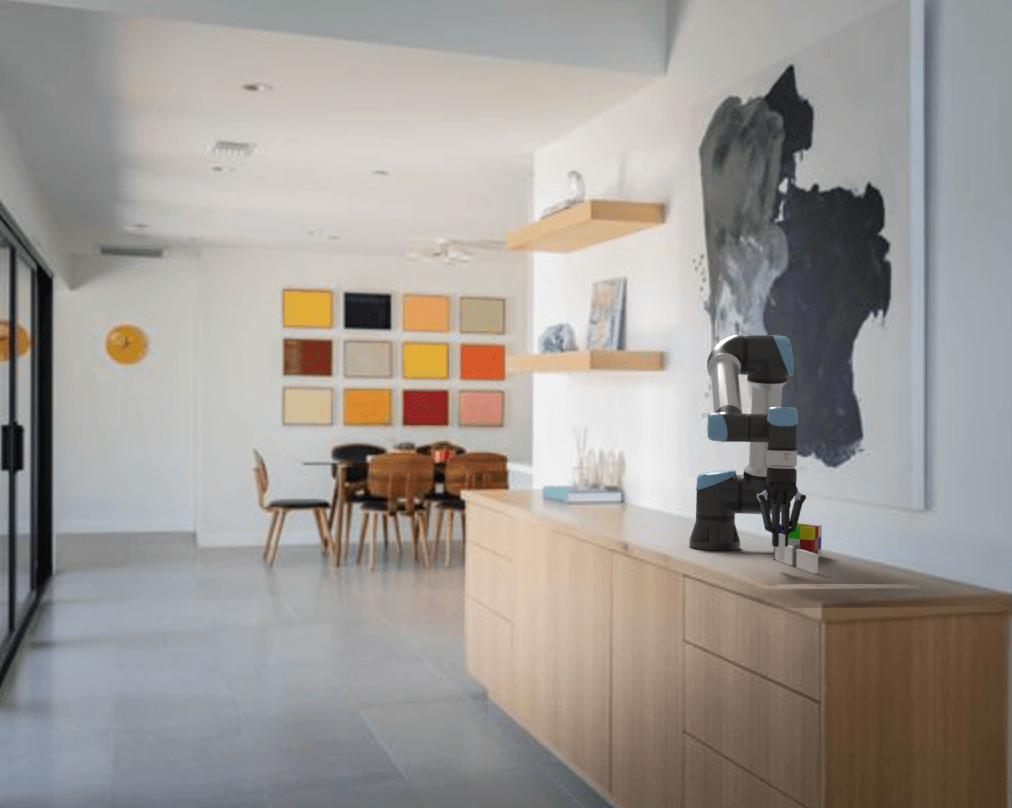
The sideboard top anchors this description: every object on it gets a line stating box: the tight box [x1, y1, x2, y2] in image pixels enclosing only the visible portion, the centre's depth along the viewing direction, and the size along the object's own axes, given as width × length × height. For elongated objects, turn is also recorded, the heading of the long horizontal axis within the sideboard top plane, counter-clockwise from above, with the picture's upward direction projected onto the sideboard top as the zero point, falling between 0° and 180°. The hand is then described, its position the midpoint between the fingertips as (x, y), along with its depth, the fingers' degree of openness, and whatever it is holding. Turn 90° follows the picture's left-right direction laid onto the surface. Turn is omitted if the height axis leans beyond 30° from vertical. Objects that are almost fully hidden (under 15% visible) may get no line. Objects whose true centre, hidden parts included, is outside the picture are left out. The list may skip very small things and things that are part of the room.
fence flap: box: [795, 549, 820, 575], centre depth 301 cm, size 10×1×5 cm, turn 9°
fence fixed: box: [772, 544, 800, 568], centre depth 314 cm, size 15×2×7 cm, turn 10°
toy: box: [779, 522, 823, 558], centre depth 328 cm, size 10×10×10 cm
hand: (779, 559), depth 298 cm, fingers closed
